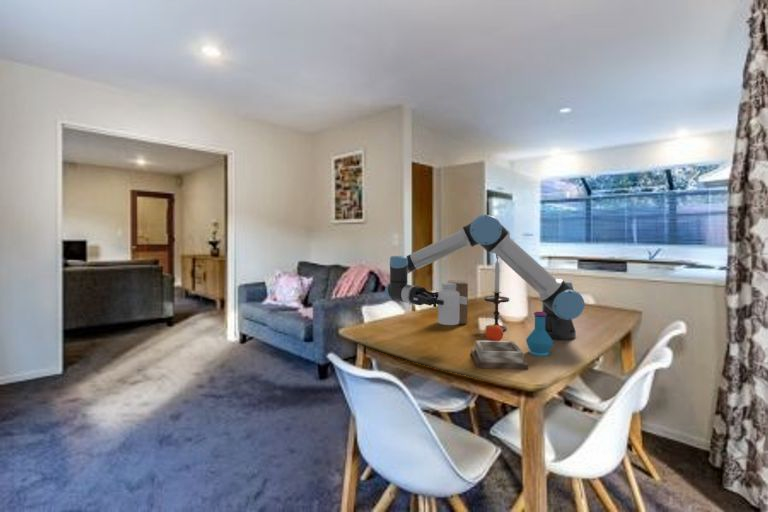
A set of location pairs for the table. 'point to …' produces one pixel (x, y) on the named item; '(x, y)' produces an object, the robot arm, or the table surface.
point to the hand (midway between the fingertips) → (458, 302)
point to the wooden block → (463, 291)
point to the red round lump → (494, 332)
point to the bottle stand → (498, 355)
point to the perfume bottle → (539, 337)
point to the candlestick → (496, 296)
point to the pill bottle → (446, 313)
